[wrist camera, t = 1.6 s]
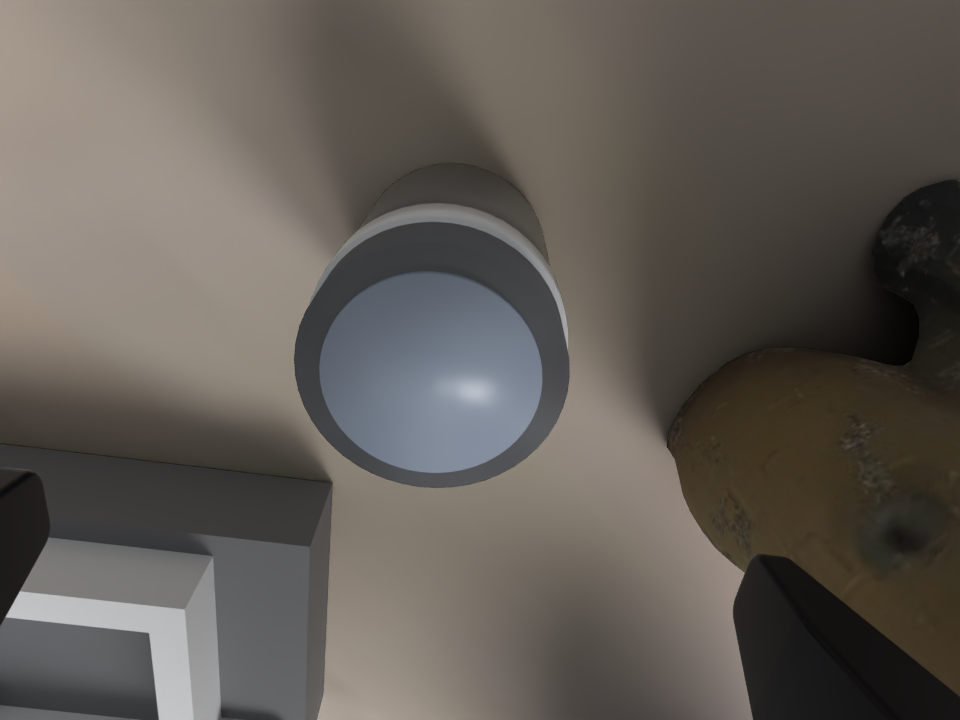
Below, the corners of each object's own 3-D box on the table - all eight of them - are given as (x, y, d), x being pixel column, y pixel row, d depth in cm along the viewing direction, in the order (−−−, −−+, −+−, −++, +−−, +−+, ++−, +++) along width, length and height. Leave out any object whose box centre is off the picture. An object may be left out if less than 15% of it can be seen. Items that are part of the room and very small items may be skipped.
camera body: (332, 482, 22) (291, 599, 18) (323, 694, 27) (288, 830, 22) (-115, 429, 22) (-273, 536, 17) (-49, 654, 26) (-161, 785, 22)
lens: (564, 173, 18) (603, 262, 11) (532, 354, 20) (548, 512, 14) (363, 146, 18) (286, 220, 11) (353, 331, 20) (284, 481, 14)
